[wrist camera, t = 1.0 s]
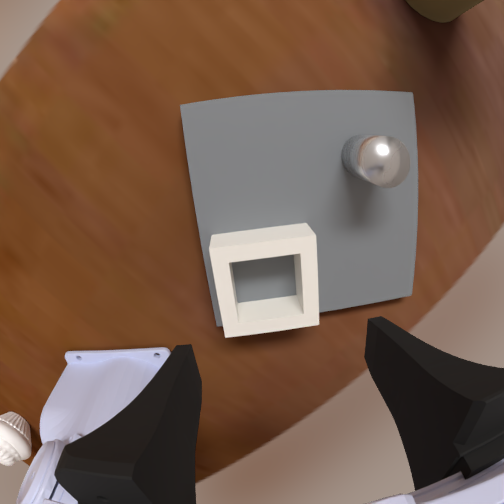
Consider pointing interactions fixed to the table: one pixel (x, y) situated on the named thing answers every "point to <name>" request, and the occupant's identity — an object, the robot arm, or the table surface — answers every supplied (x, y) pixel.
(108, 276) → the table surface
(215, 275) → the collar
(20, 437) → the white rounded jar shape
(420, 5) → the cork
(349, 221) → the board
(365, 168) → the post
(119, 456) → the robot arm
